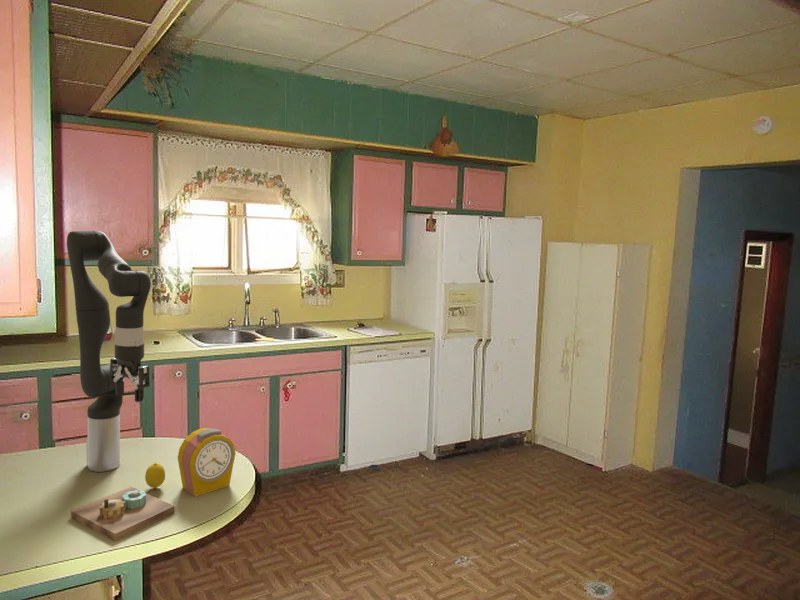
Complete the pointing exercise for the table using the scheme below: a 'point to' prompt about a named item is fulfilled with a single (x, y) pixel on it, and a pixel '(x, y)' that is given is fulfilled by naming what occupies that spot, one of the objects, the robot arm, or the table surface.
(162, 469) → the lemon
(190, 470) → the alarm clock
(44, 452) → the table surface
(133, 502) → the teal gear
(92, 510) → the gear board
